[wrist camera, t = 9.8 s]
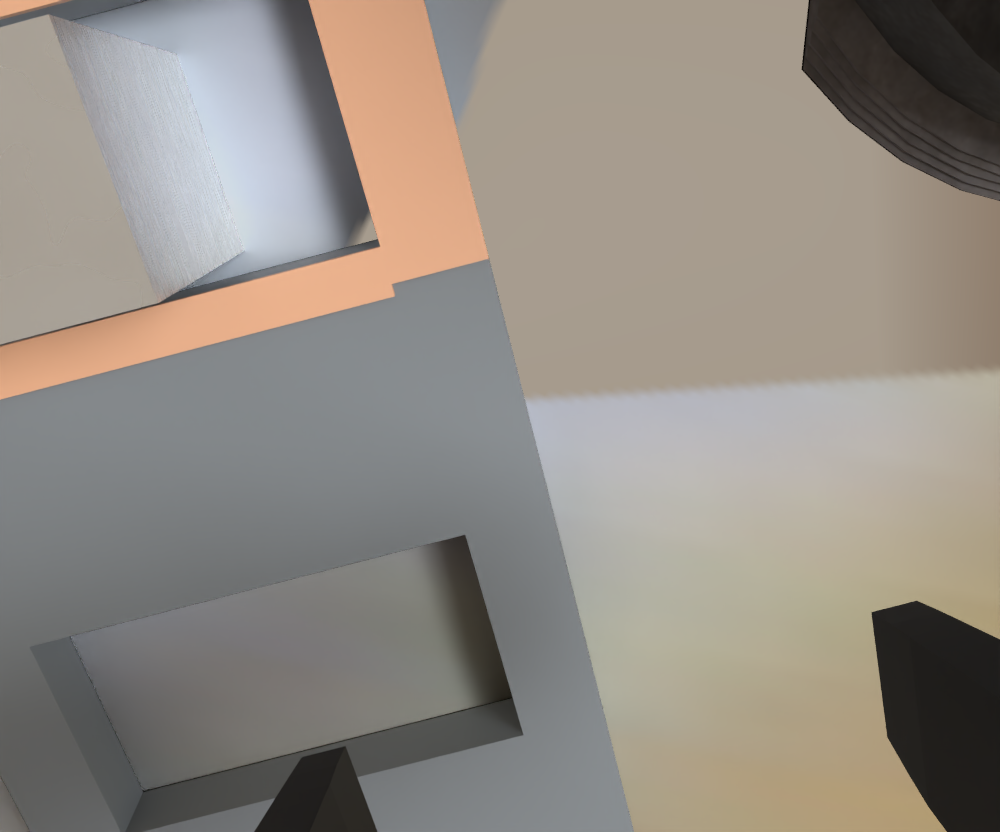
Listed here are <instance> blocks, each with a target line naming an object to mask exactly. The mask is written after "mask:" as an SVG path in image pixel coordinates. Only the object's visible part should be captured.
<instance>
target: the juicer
mask: <svg viewBox="0 0 1000 832" xmlns="http://www.w3.org/2000/svg"><path fill="white" fill-rule="evenodd" d="M802 71H803V72H804V73H805V74H806V75H807V76H808V77H809V78H810V79H811V81H812V82H813V83H814V84H815V85H816V86H817V87H818V88H819V89H820V90H821V92H823V94H824V95H825V96H826V97H827V98H828V99H829V100H830V102H831V103H832V104H833V105H834V106H835V107H836V108H837V109H838V110H839V111H840V113H841V114H842V115H843V116H844V117H845V118H846V119H847V120H848V121H849V122H850V123H851V124H853V125H854V126H855V127H857V128H858V129H859V130H861V131H862V132H863V133H864V134H866V135H867V136H869V137H870V138H871V139H873V140H874V141H875V142H876V143H878V144H879V145H880V146H882V147H883V148H885V149H886V150H887V151H888V152H890V153H891V154H892V155H894V156H895V157H896V158H898V159H899V160H900V161H902V162H903V163H906V164H907V165H910V166H912V167H914V168H916V169H918V170H920V171H922V172H924V173H926V174H928V175H930V176H932V177H934V178H936V179H938V180H940V181H942V182H944V183H946V184H948V185H950V186H952V187H955V188H957V189H959V190H961V191H965V192H969V193H972V194H976V195H980V196H983V197H987V198H991V199H995V200H998V201H1000V0H809V2H808V12H807V22H806V31H805V41H804V50H803V60H802Z"/></svg>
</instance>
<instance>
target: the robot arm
mask: <svg viewBox="0 0 1000 832" xmlns="http://www.w3.org/2000/svg"><path fill="white" fill-rule="evenodd" d="M872 620H873V628H874V636H875V643H876V651H877V659H878V667H879V675H880V682H881V690H882V698H883V706H884V714H885V722H886V729H887V737H888V739H889V741H890V742H891V744H892V746H893V748H894V749H895V751H896V753H897V755H898V756H899V758H900V760H901V762H902V763H903V765H904V767H905V768H906V770H907V772H908V774H909V775H910V777H911V779H912V780H913V782H914V784H915V785H916V787H917V789H918V790H919V792H920V794H921V795H922V797H923V798H924V800H925V802H926V803H927V805H928V807H929V808H930V809H931V811H932V812H933V813H934V815H935V816H936V818H937V819H938V820H939V822H940V823H941V824H942V826H943V827H944V828H945V830H946V831H947V832H1000V639H998V638H995V637H993V636H991V635H989V634H987V633H985V632H983V631H981V630H979V629H977V628H974V627H972V626H970V625H968V624H966V623H964V622H962V621H960V620H958V619H956V618H954V617H951V616H949V615H947V614H945V613H943V612H941V611H939V610H936V609H934V608H932V607H930V606H927V605H925V604H923V603H920V602H918V601H914V602H910V603H906V604H902V605H899V606H895V607H891V608H887V609H883V610H879V611H875V612H872ZM254 832H377V829H376V826H375V824H374V821H373V818H372V816H371V813H370V810H369V808H368V805H367V802H366V799H365V797H364V794H363V791H362V789H361V786H360V783H359V781H358V778H357V775H356V773H355V770H354V767H353V765H352V762H351V759H350V757H349V754H348V751H347V749H346V746H344V747H340V748H336V749H332V750H328V751H324V752H320V753H316V754H312V755H308V756H304V757H302V758H301V759H300V761H299V762H298V764H297V765H296V767H295V768H294V770H293V771H292V773H291V774H290V776H289V777H288V779H287V781H286V782H285V784H284V785H283V787H282V788H281V790H280V792H279V793H278V795H277V796H276V798H275V799H274V801H273V803H272V804H271V806H270V807H269V809H268V811H267V812H266V814H265V815H264V817H263V818H262V820H261V822H260V823H259V825H258V826H257V828H256V829H255V831H254Z"/></svg>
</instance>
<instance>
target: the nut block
mask: <svg viewBox="0 0 1000 832" xmlns="http://www.w3.org/2000/svg"><path fill="white" fill-rule="evenodd" d="M242 252H244V249H243V246H242V243H241V240H240V237H239V234H238V231H237V228H236V225H235V222H234V220H233V217H232V214H231V211H230V208H229V205H228V202H227V199H226V196H225V193H224V190H223V187H222V184H221V182H220V179H219V176H218V173H217V170H216V167H215V164H214V161H213V158H212V155H211V152H210V149H209V146H208V144H207V141H206V138H205V135H204V132H203V129H202V126H201V123H200V120H199V117H198V114H197V111H196V108H195V106H194V103H193V100H192V97H191V94H190V91H189V88H188V85H187V82H186V79H185V76H184V73H183V70H182V68H181V65H180V62H179V59H178V56H177V54H176V53H172V52H169V51H166V50H163V49H159V48H156V47H153V46H150V45H146V44H143V43H140V42H137V41H133V40H130V39H127V38H124V37H120V36H117V35H114V34H111V33H107V32H104V31H101V30H98V29H94V28H91V27H88V26H85V25H81V24H78V23H75V22H72V21H68V20H65V19H62V18H59V17H55V16H52V15H49V14H48V15H44V16H40V17H37V18H33V19H29V20H25V21H22V22H18V23H14V24H11V25H7V26H3V27H0V344H4V343H8V342H12V341H15V340H19V339H23V338H27V337H31V336H34V335H38V334H42V333H46V332H50V331H53V330H57V329H61V328H65V327H69V326H72V325H76V324H80V323H84V322H88V321H92V320H95V319H99V318H103V317H107V316H111V315H114V314H118V313H122V312H126V311H130V310H133V309H137V308H141V307H145V306H149V305H152V304H156V303H159V302H161V301H163V300H164V299H166V298H167V297H169V296H171V295H172V294H174V293H176V292H177V291H179V290H181V289H182V288H184V287H186V286H187V285H189V284H191V283H192V282H194V281H196V280H197V279H199V278H201V277H202V276H204V275H206V274H207V273H209V272H211V271H212V270H214V269H216V268H217V267H219V266H221V265H222V264H224V263H226V262H227V261H229V260H231V259H232V258H234V257H236V256H237V255H239V254H240V253H242Z"/></svg>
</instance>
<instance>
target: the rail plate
mask: <svg viewBox="0 0 1000 832" xmlns="http://www.w3.org/2000/svg"><path fill="white" fill-rule="evenodd" d="M142 1H146V0H0V27H3V26H7V25H11V24H14V23H18V22H22V21H25V20H29V19H33V18H37V17H40V16H44V15H48V14H49V15H52V16H55V17H59V18H62V19H65V20H68V21H71V20H75V19H78V18H82V17H86V16H90V15H93V14H97V13H101V12H105V11H108V10H112V9H116V8H119V7H123V6H127V5H131V4H134V3H138V2H142ZM308 1H309V4H310V8H311V11H312V14H313V18H314V21H315V25H316V28H317V32H318V35H319V38H320V42H321V45H322V49H323V52H324V56H325V59H326V62H327V66H328V69H329V73H330V76H331V80H332V83H333V86H334V90H335V93H336V97H337V100H338V104H339V107H340V110H341V114H342V117H343V121H344V124H345V128H346V131H347V134H348V138H349V141H350V145H351V148H352V152H353V155H354V158H355V162H356V165H357V169H358V172H359V176H360V179H361V182H362V186H363V189H364V193H365V196H366V200H367V203H368V206H369V210H370V213H371V217H372V220H373V224H374V227H375V230H376V234H377V237H378V239H377V240H373V241H369V242H366V243H362V244H358V245H354V246H350V247H347V248H343V249H339V250H335V251H331V252H328V253H324V254H320V255H316V256H312V257H308V258H305V259H301V260H297V261H293V262H289V263H286V264H282V265H278V266H274V267H270V268H267V269H263V270H259V271H255V272H251V273H248V274H244V275H240V276H236V277H232V278H228V279H225V280H221V281H217V282H213V283H209V284H206V285H202V286H198V287H194V288H190V289H187V290H183V291H179V292H176V293H174V294H172V295H171V296H169V297H167V298H166V299H164V300H163V301H161V302H159V303H156V304H152V305H149V306H145V307H141V308H137V309H133V310H130V311H126V312H122V313H118V314H114V315H111V316H107V317H103V318H99V319H95V320H92V321H88V322H84V323H80V324H76V325H72V326H69V327H65V328H61V329H57V330H53V331H50V332H46V333H42V334H38V335H34V336H31V337H27V338H23V339H19V340H15V341H12V342H8V343H4V344H0V776H1V778H2V780H3V782H4V784H5V786H6V787H7V789H8V791H9V793H10V795H11V797H12V799H13V801H14V802H15V804H16V806H17V808H18V810H19V812H20V814H21V815H22V817H23V819H24V821H25V823H26V825H27V827H28V829H29V830H30V832H254V831H255V829H256V828H257V826H258V825H259V823H260V822H261V820H262V818H263V817H264V815H265V814H266V812H267V811H268V809H269V807H270V806H271V804H272V803H273V801H274V799H275V798H276V796H277V795H278V793H279V792H280V790H281V788H282V787H283V785H284V784H285V782H286V781H287V779H288V777H289V776H290V774H291V773H292V771H293V770H294V768H295V767H296V765H297V764H298V762H299V761H300V759H301V758H302V757H304V756H308V755H312V754H316V753H320V752H324V751H328V750H332V749H336V748H340V747H344V746H346V749H347V751H348V754H349V757H350V759H351V762H352V765H353V767H354V770H355V773H356V775H357V778H358V781H359V783H360V786H361V789H362V791H363V794H364V797H365V799H366V802H367V805H368V808H369V810H370V813H371V816H372V818H373V821H374V824H375V826H376V829H377V832H634V830H633V826H632V822H631V818H630V814H629V810H628V806H627V803H626V799H625V795H624V791H623V787H622V783H621V779H620V775H619V771H618V767H617V763H616V759H615V755H614V751H613V747H612V743H611V739H610V735H609V731H608V727H607V723H606V719H605V715H604V712H603V708H602V704H601V700H600V696H599V692H598V688H597V684H596V680H595V676H594V672H593V668H592V664H591V660H590V656H589V652H588V648H587V644H586V640H585V636H584V632H583V628H582V624H581V621H580V617H579V613H578V609H577V605H576V601H575V597H574V593H573V589H572V585H571V581H570V577H569V573H568V569H567V565H566V561H565V557H564V553H563V549H562V545H561V541H560V537H559V533H558V529H557V526H556V522H555V518H554V514H553V510H552V506H551V502H550V498H549V494H548V490H547V486H546V482H545V478H544V474H543V470H542V466H541V462H540V458H539V454H538V450H537V446H536V442H535V438H534V435H533V431H532V427H531V423H530V419H529V415H528V411H527V407H526V403H525V399H524V395H523V391H522V387H521V384H520V379H519V375H518V371H517V367H516V363H515V359H514V355H513V352H512V348H511V344H510V340H509V336H508V332H507V328H506V324H505V320H504V316H503V312H502V308H501V304H500V300H499V296H498V292H497V288H496V284H495V280H494V277H493V272H492V268H491V265H490V261H489V256H488V252H487V248H486V244H485V240H484V236H483V232H482V228H481V224H480V220H479V216H478V212H477V208H476V204H475V200H474V196H473V192H472V188H471V184H470V180H469V176H468V173H467V169H466V165H465V161H464V157H463V153H462V149H461V145H460V141H459V137H458V133H457V129H456V125H455V121H454V117H453V113H452V109H451V105H450V101H449V97H448V93H447V89H446V85H445V81H444V78H443V74H442V70H441V66H440V62H439V58H438V54H437V50H436V46H435V42H434V38H433V34H432V30H431V26H430V22H429V18H428V14H427V10H426V6H425V2H424V0H308ZM462 535H465V536H466V539H467V543H468V546H469V550H470V553H471V556H472V560H473V563H474V567H475V570H476V574H477V577H478V580H479V584H480V587H481V591H482V594H483V598H484V601H485V604H486V608H487V611H488V615H489V618H490V622H491V625H492V629H493V632H494V635H495V639H496V642H497V646H498V649H499V653H500V656H501V659H502V663H503V666H504V670H505V673H506V677H507V680H508V683H509V687H510V690H511V694H512V697H513V698H512V699H508V700H504V701H500V702H496V703H492V704H488V705H484V706H480V707H476V708H472V709H468V710H464V711H460V712H456V713H453V714H449V715H445V716H441V717H437V718H433V719H429V720H425V721H421V722H417V723H413V724H409V725H405V726H401V727H397V728H394V729H390V730H386V731H382V732H378V733H374V734H370V735H366V736H362V737H358V738H354V739H350V740H346V741H342V742H338V743H335V744H331V745H327V746H323V747H319V748H315V749H311V750H307V751H303V752H299V753H295V754H291V755H287V756H283V757H279V758H276V759H272V760H268V761H264V762H260V763H256V764H252V765H248V766H244V767H240V768H236V769H232V770H228V771H224V772H220V773H217V774H213V775H209V776H205V777H201V778H197V779H193V780H189V781H185V782H181V783H177V784H173V785H169V786H165V787H161V788H158V789H154V790H150V791H146V792H143V791H142V789H141V786H140V784H139V782H138V780H137V778H136V776H135V774H134V772H133V770H132V767H131V765H130V763H129V761H128V759H127V757H126V755H125V753H124V751H123V749H122V746H121V744H120V742H119V740H118V738H117V736H116V734H115V732H114V730H113V727H112V725H111V723H110V721H109V719H108V717H107V715H106V713H105V711H104V708H103V706H102V704H101V702H100V700H99V698H98V696H97V694H96V692H95V689H94V687H93V685H92V683H91V681H90V679H89V677H88V675H87V673H86V671H85V668H84V666H83V664H82V662H81V660H80V658H79V656H78V654H77V652H76V649H75V647H74V645H73V643H72V641H71V639H70V637H69V636H73V635H77V634H81V633H85V632H89V631H93V630H97V629H101V628H104V627H108V626H112V625H116V624H120V623H124V622H128V621H132V620H136V619H139V618H143V617H147V616H151V615H155V614H159V613H163V612H167V611H171V610H174V609H178V608H182V607H186V606H190V605H194V604H198V603H202V602H206V601H209V600H213V599H217V598H221V597H225V596H229V595H233V594H237V593H241V592H244V591H248V590H252V589H256V588H260V587H264V586H268V585H272V584H276V583H279V582H283V581H287V580H291V579H295V578H299V577H303V576H307V575H311V574H314V573H318V572H322V571H326V570H330V569H334V568H338V567H342V566H346V565H349V564H353V563H357V562H361V561H365V560H369V559H373V558H377V557H381V556H384V555H388V554H392V553H396V552H400V551H404V550H408V549H412V548H416V547H419V546H423V545H427V544H431V543H435V542H439V541H443V540H447V539H451V538H454V537H458V536H462Z"/></svg>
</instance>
